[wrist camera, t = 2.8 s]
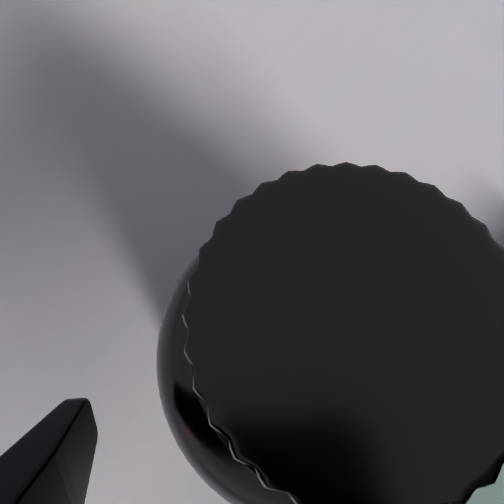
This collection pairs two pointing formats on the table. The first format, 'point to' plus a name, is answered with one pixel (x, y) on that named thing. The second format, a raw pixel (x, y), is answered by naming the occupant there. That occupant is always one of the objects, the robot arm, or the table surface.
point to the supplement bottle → (339, 345)
